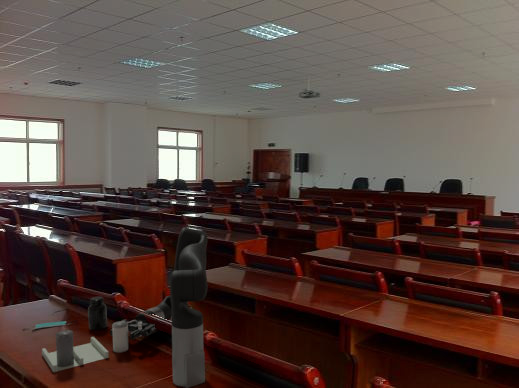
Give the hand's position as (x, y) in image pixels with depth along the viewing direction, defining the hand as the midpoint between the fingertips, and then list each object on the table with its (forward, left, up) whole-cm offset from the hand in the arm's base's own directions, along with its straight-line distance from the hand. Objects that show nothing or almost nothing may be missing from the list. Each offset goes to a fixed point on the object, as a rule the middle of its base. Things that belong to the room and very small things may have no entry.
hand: (120, 334), depth 155 cm
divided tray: (+4, +14, -6) cm, 16 cm away
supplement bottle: (+28, -1, -6) cm, 29 cm away
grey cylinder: (0, +18, -5) cm, 19 cm away
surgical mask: (+42, +13, -7) cm, 44 cm away
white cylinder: (0, 0, -6) cm, 6 cm away
